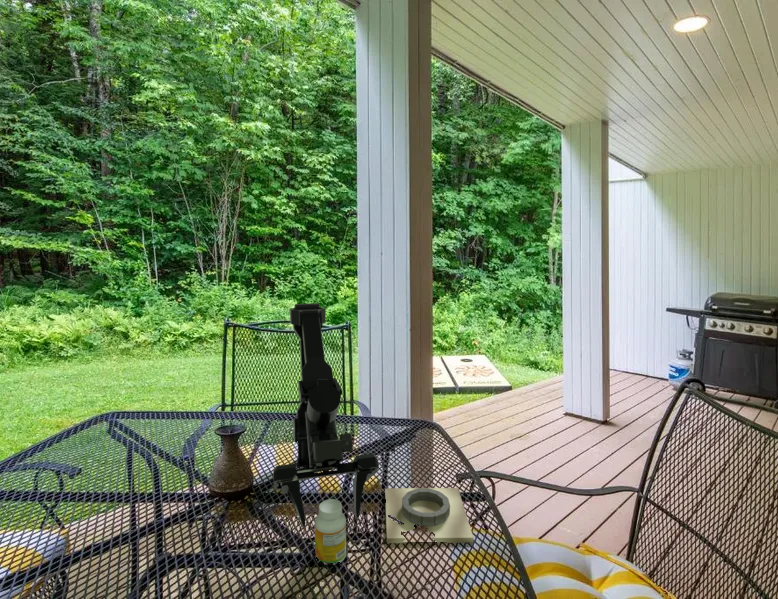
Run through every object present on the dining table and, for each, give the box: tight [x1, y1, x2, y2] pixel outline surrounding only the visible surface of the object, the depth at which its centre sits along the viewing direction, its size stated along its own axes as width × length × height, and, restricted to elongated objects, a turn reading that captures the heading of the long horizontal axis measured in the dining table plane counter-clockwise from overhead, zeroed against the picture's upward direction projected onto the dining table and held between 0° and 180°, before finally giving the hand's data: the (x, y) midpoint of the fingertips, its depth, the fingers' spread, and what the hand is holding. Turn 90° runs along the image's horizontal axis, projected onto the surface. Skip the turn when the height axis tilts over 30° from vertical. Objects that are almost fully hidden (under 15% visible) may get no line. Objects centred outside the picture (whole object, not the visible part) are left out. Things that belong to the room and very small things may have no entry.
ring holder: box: [384, 487, 474, 544], centre depth 90 cm, size 16×16×3 cm
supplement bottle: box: [314, 498, 347, 563], centre depth 79 cm, size 5×5×10 cm
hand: (331, 522), depth 77 cm, fingers open, 9 cm apart
